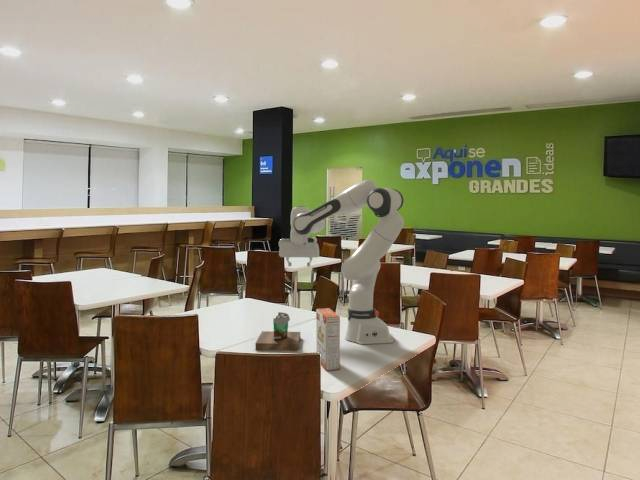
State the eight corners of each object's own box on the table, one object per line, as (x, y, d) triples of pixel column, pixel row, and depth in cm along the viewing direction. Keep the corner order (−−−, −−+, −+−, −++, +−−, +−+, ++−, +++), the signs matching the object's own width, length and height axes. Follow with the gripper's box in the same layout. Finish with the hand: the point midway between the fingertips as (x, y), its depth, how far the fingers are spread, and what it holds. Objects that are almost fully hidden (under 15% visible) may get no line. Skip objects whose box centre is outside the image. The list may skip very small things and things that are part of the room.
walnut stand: (300, 338, 216) (300, 331, 216) (297, 350, 198) (297, 343, 198) (261, 337, 217) (261, 331, 216) (255, 350, 199) (255, 343, 198)
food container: (287, 341, 201) (287, 319, 200) (273, 341, 201) (273, 318, 200) (291, 333, 213) (291, 312, 212) (278, 333, 213) (278, 311, 212)
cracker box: (315, 359, 188) (315, 308, 186) (329, 357, 189) (330, 307, 188) (324, 371, 174) (325, 316, 173) (340, 370, 176) (340, 315, 174)
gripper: (277, 239, 228) (277, 266, 230) (319, 239, 228) (319, 267, 229) (279, 238, 235) (279, 265, 236) (319, 238, 234) (319, 265, 235)
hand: (299, 266), depth 232 cm, fingers open, 8 cm apart
